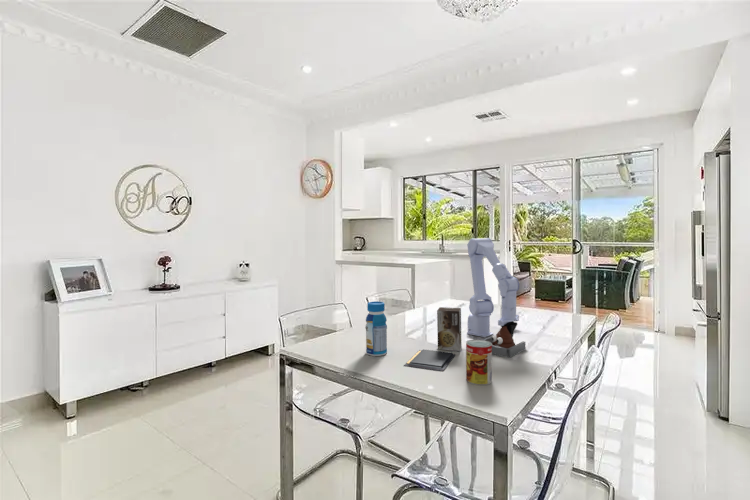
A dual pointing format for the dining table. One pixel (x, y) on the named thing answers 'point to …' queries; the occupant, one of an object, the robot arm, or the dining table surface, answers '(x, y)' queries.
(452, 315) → the coffee box
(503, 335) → the poop emoji
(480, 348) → the canned food
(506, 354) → the box
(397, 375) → the dining table surface
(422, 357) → the dark gray flat slab
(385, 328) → the beverage bottle
